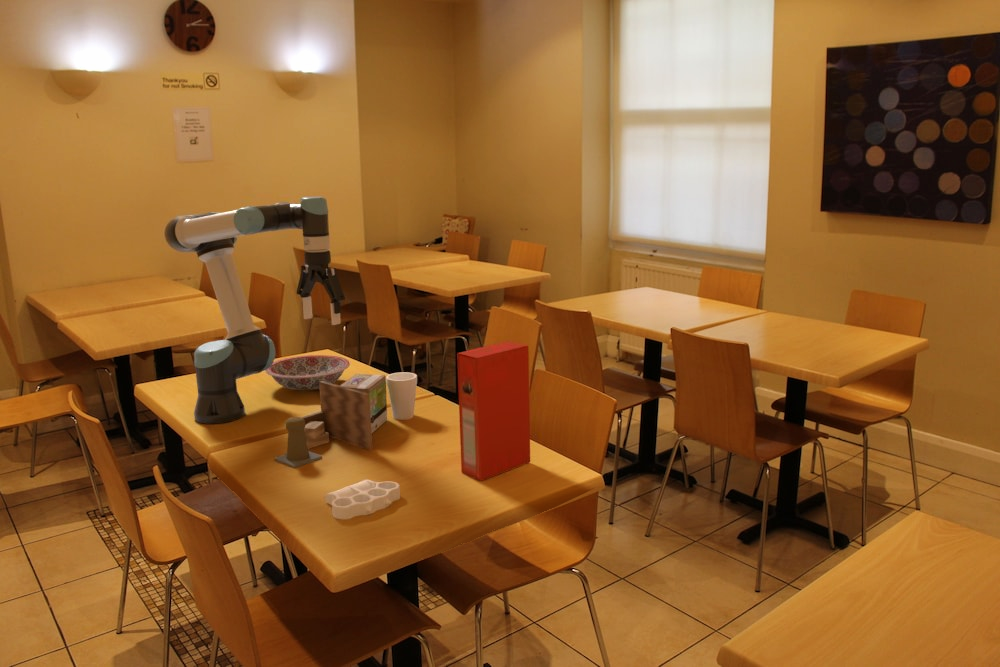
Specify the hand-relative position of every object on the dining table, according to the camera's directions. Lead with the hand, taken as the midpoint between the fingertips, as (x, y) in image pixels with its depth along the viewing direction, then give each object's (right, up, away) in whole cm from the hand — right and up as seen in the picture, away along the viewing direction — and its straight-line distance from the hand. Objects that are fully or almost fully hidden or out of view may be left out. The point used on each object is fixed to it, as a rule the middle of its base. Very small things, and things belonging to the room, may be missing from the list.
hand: (322, 321), depth 245 cm
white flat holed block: (+21, -44, -50) cm, 70 cm away
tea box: (+12, -32, +2) cm, 34 cm away
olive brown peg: (-2, -37, -22) cm, 43 cm away
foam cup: (+23, -30, +11) cm, 39 cm away
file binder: (+52, -39, -30) cm, 72 cm away
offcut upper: (0, -32, -11) cm, 34 cm away
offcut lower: (0, -35, -10) cm, 37 cm away
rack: (+6, -35, -13) cm, 38 cm away
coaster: (-2, -38, -22) cm, 44 cm away
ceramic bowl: (-14, -23, +44) cm, 52 cm away
